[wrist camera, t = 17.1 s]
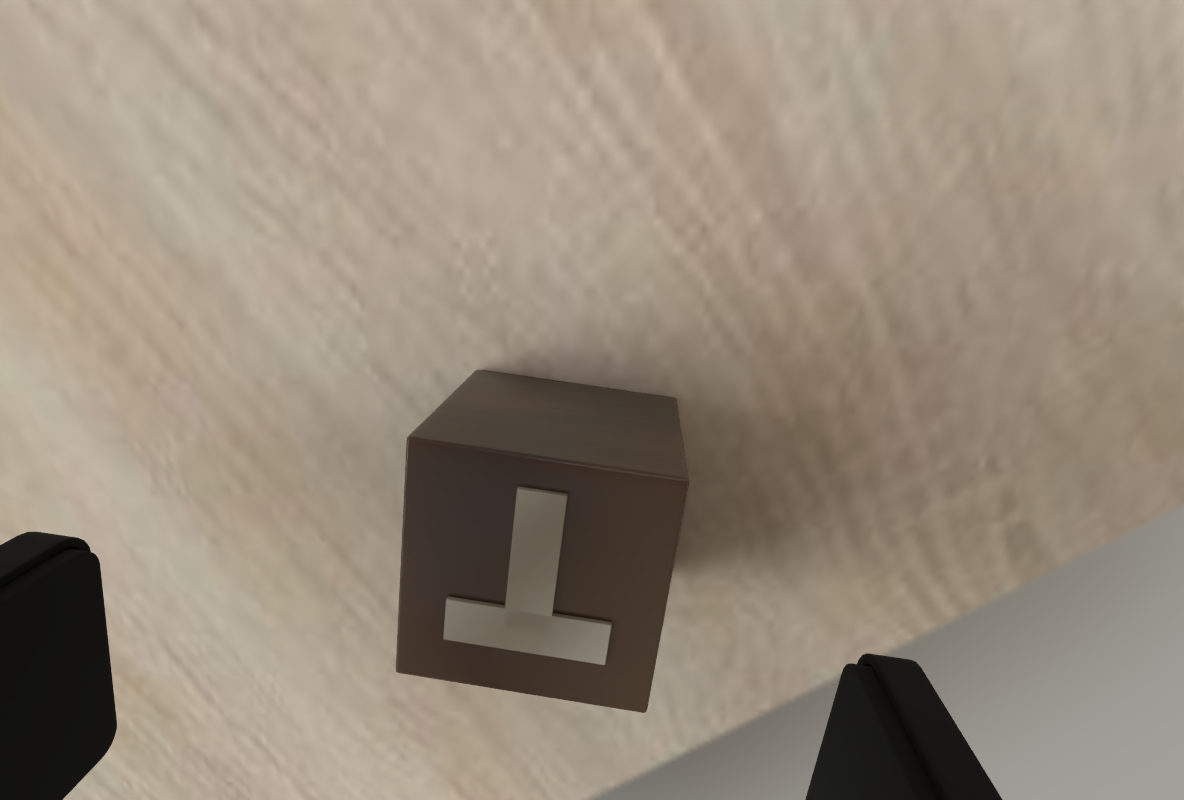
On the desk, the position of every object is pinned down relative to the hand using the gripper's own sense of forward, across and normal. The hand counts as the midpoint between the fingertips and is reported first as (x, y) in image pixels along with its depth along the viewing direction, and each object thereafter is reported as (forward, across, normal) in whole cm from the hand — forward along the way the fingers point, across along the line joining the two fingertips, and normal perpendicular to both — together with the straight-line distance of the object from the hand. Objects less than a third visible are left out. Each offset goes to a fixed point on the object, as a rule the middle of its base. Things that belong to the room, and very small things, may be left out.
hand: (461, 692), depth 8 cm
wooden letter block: (+7, -1, 0) cm, 7 cm away
